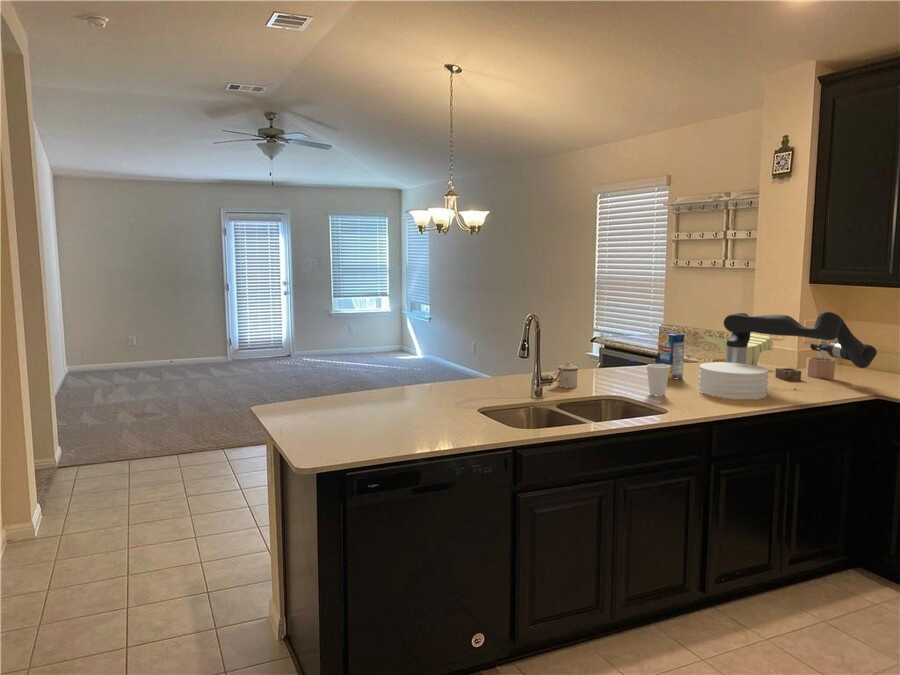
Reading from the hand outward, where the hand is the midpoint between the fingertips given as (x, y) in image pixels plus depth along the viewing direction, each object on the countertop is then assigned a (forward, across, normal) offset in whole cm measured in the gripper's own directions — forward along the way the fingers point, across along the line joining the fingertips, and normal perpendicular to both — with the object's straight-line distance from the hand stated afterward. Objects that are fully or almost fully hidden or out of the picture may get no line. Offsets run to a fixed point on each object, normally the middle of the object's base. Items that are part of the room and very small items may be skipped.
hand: (819, 345), depth 314 cm
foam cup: (-36, -94, -17) cm, 102 cm away
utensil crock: (-2, 0, -16) cm, 17 cm away
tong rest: (-9, -20, -16) cm, 27 cm away
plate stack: (-32, -58, -17) cm, 69 cm away
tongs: (-2, 0, -15) cm, 15 cm away
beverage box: (+4, -73, -17) cm, 75 cm away
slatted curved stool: (+26, -28, -17) cm, 42 cm away
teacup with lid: (-18, -131, -17) cm, 133 cm away
